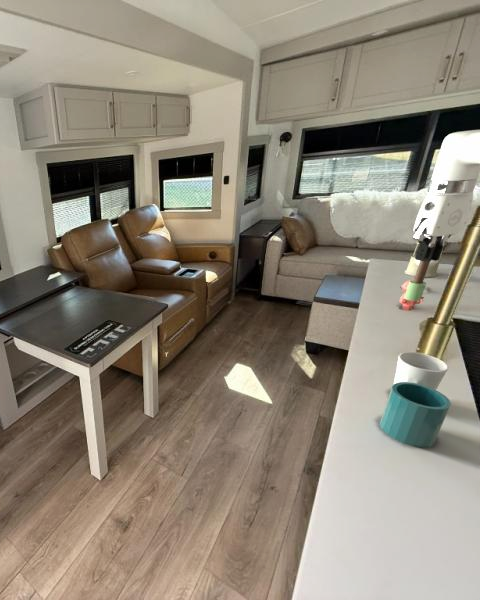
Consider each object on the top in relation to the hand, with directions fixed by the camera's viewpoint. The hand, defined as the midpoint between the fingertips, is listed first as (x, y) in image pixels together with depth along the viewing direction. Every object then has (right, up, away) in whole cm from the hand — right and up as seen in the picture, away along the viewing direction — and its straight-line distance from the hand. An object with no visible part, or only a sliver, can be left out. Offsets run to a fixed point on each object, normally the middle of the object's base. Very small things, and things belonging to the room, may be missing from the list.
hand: (426, 259), depth 84 cm
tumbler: (-21, -41, -15) cm, 48 cm away
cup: (-12, -36, -6) cm, 39 cm away
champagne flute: (+48, -7, +47) cm, 67 cm away
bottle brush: (+1, -10, +5) cm, 12 cm away
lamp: (+64, +1, +61) cm, 88 cm away
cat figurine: (+31, -14, +35) cm, 49 cm away
